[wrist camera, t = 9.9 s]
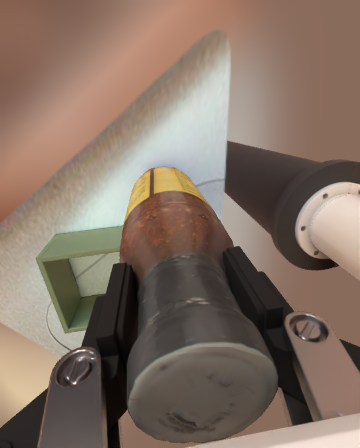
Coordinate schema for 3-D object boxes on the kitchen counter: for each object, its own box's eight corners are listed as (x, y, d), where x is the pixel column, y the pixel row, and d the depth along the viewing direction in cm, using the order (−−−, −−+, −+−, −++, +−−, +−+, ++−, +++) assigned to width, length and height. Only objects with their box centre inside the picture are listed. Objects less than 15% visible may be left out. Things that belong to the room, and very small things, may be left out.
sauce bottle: (146, 230, 26) (118, 496, 7) (123, 175, 23) (-6, 374, 5) (204, 211, 25) (323, 438, 7) (186, 153, 23) (299, 276, 5)
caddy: (140, 223, 32) (138, 244, 26) (152, 289, 36) (152, 319, 31) (55, 234, 31) (35, 258, 26) (77, 301, 36) (64, 333, 30)
